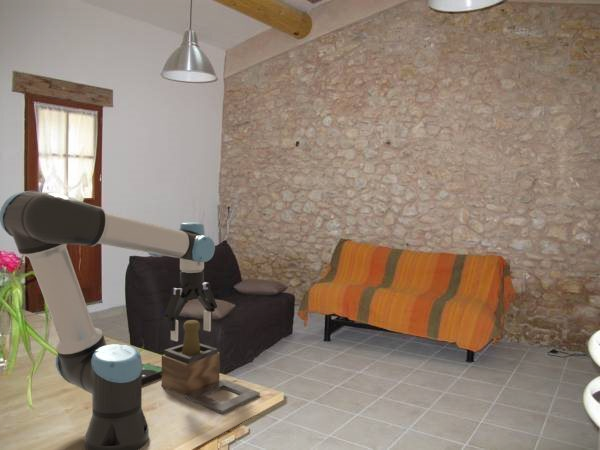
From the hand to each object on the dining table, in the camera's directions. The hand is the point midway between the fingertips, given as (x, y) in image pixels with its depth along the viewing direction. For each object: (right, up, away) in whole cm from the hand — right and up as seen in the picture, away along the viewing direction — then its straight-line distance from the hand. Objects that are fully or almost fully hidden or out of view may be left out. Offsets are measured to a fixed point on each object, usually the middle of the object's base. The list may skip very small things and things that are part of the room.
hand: (191, 335), depth 158 cm
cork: (0, -6, +1) cm, 6 cm away
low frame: (+12, -17, -7) cm, 22 cm away
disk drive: (-18, -16, +5) cm, 25 cm away
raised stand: (0, -16, +2) cm, 16 cm away
